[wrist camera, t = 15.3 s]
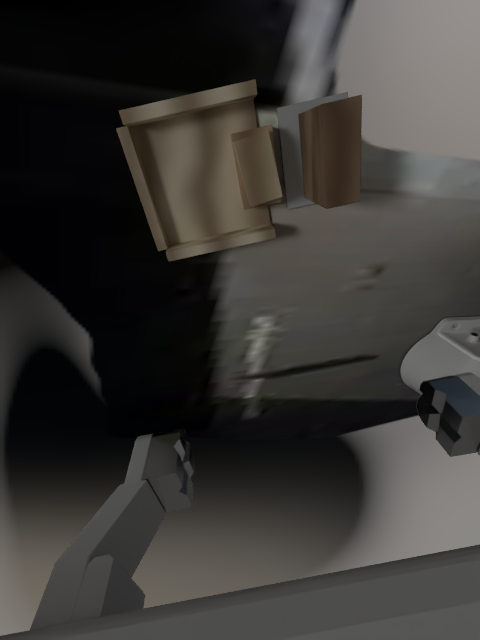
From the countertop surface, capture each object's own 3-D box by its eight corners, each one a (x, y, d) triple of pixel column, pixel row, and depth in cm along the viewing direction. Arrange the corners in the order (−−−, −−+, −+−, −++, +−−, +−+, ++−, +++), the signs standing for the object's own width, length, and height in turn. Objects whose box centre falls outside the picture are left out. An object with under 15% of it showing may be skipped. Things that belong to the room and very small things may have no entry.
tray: (251, 86, 32) (255, 79, 29) (271, 231, 40) (276, 238, 37) (116, 117, 32) (107, 113, 29) (163, 255, 40) (159, 263, 37)
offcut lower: (268, 126, 34) (271, 124, 32) (276, 199, 38) (280, 202, 36) (229, 135, 34) (231, 133, 32) (242, 206, 38) (244, 210, 36)
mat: (346, 92, 33) (347, 91, 33) (346, 195, 39) (348, 196, 38) (276, 108, 33) (277, 108, 33) (287, 208, 39) (287, 209, 38)
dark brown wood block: (328, 107, 33) (361, 94, 26) (331, 191, 38) (360, 201, 30) (298, 114, 33) (322, 103, 26) (304, 197, 38) (326, 208, 30)
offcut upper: (266, 130, 32) (268, 129, 31) (280, 194, 35) (282, 196, 34) (232, 142, 32) (233, 142, 31) (249, 205, 35) (251, 207, 34)
